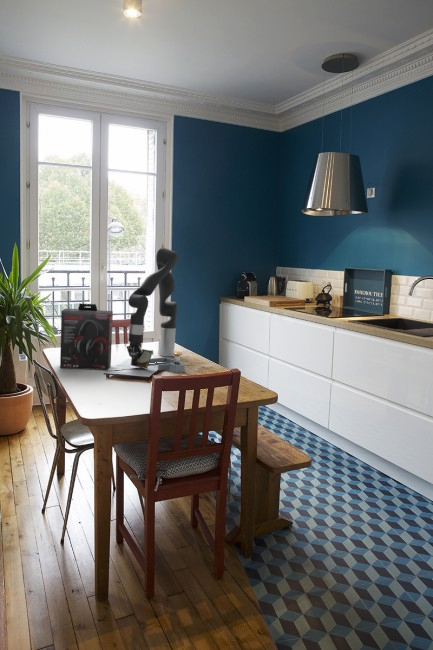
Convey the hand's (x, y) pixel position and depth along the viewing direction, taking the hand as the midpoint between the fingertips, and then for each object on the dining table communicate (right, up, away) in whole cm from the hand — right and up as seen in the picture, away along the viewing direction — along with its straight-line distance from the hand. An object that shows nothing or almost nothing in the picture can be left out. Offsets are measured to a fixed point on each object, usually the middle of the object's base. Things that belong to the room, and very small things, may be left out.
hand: (134, 365), depth 265 cm
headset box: (-25, -1, -3) cm, 25 cm away
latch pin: (+22, +1, +3) cm, 22 cm away
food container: (+3, -2, +3) cm, 5 cm away
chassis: (+16, -2, +10) cm, 19 cm away
